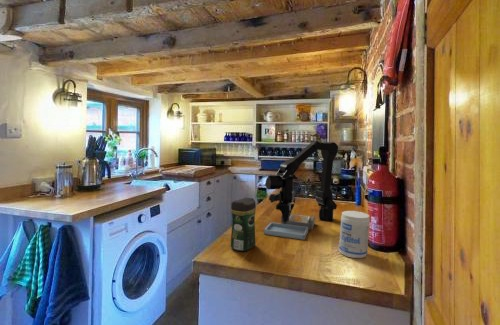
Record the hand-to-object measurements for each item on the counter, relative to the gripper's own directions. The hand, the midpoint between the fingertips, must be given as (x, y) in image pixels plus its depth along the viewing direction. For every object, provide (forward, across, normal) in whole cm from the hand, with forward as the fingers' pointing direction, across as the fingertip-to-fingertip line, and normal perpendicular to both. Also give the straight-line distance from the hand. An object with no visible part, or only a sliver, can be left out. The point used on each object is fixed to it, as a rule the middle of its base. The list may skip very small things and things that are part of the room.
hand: (286, 220), depth 132 cm
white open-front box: (+2, 0, +4) cm, 5 cm away
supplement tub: (+2, +25, +30) cm, 39 cm away
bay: (+2, 0, +7) cm, 7 cm away
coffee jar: (+2, +35, -9) cm, 36 cm away
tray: (+2, +13, +3) cm, 13 cm away
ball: (-1, 0, +6) cm, 6 cm away
